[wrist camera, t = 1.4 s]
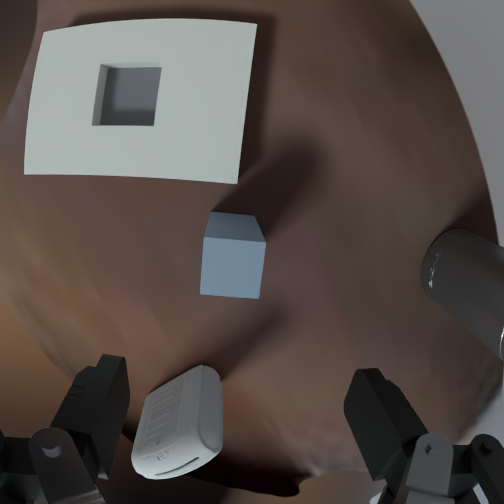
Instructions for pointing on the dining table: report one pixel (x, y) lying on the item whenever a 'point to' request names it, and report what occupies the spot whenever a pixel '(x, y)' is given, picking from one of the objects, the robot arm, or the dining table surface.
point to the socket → (141, 99)
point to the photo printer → (180, 425)
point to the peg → (232, 256)
